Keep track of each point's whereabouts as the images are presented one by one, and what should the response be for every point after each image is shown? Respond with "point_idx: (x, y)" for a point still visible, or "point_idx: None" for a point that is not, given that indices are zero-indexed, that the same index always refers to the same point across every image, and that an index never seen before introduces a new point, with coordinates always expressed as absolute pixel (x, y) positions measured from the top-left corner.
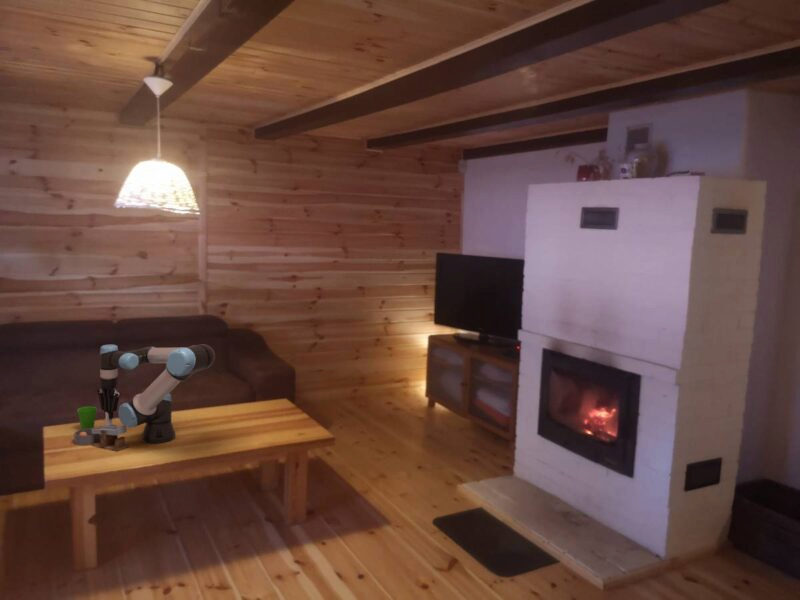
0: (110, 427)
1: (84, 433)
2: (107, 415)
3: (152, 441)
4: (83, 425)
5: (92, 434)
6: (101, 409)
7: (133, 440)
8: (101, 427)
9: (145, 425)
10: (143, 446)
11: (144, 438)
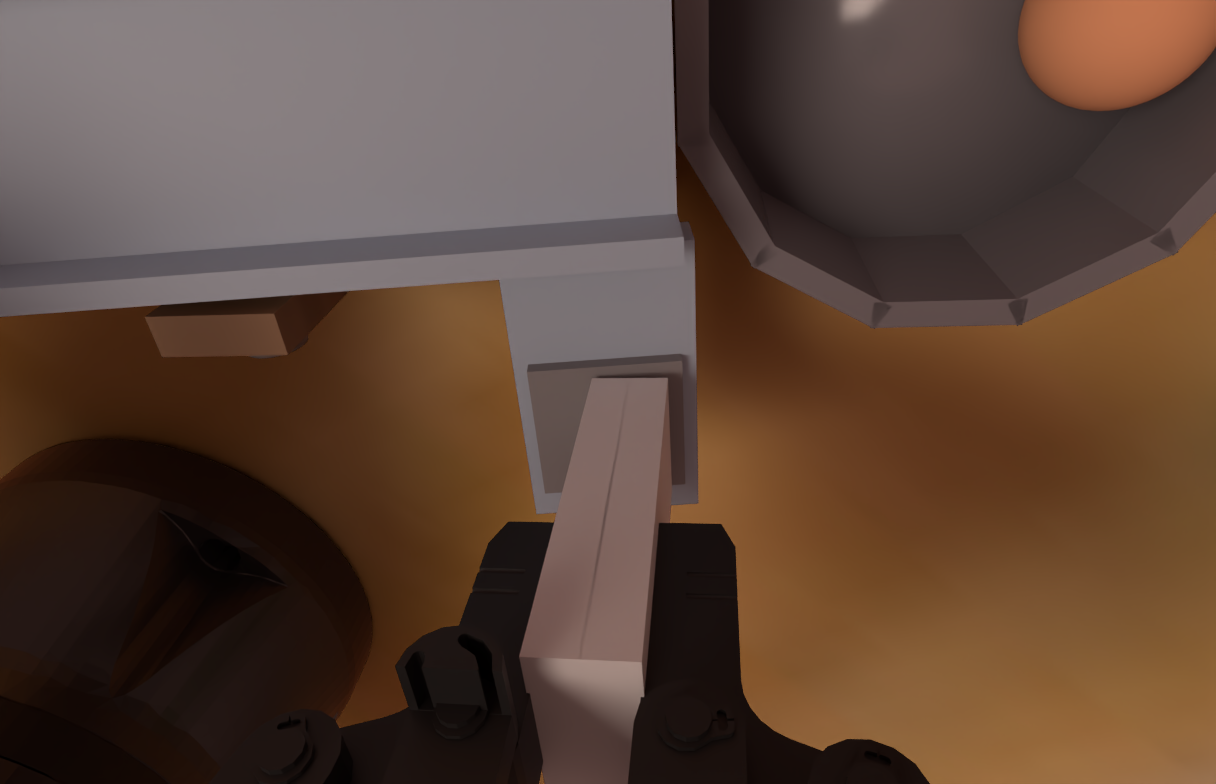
0: (286, 257)
1: (1083, 12)
2: (551, 573)
3: (25, 465)
4: None
5: (1006, 231)
6: (890, 754)
7: (329, 422)
8: (624, 226)
9: (154, 676)
10: (4, 324)
11: (133, 473)
